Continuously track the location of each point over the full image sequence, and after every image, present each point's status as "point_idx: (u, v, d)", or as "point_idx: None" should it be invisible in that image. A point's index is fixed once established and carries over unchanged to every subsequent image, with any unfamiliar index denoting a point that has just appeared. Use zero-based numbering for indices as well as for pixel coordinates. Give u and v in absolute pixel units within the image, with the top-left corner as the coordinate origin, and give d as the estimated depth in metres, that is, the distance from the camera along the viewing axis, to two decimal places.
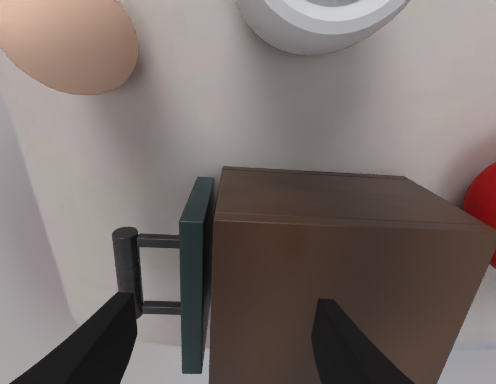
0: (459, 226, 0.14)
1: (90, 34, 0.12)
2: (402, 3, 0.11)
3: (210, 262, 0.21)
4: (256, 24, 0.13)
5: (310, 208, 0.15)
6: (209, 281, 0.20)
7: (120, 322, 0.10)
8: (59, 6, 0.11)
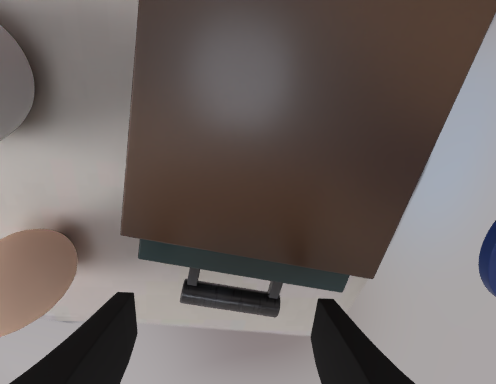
0: None
1: None
2: None
3: None
4: None
5: None
6: None
7: (120, 322, 0.10)
8: None
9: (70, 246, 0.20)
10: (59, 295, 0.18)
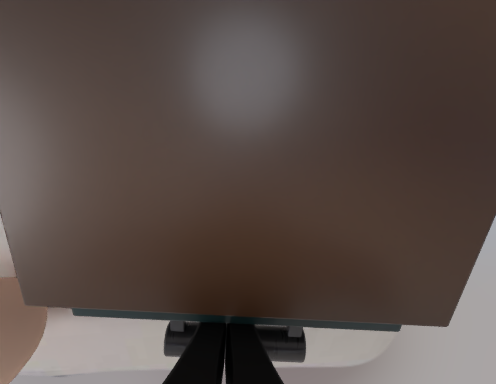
0: None
1: None
2: None
3: None
4: None
5: None
6: None
7: (225, 325, 0.10)
8: None
9: None
10: (17, 364, 0.14)
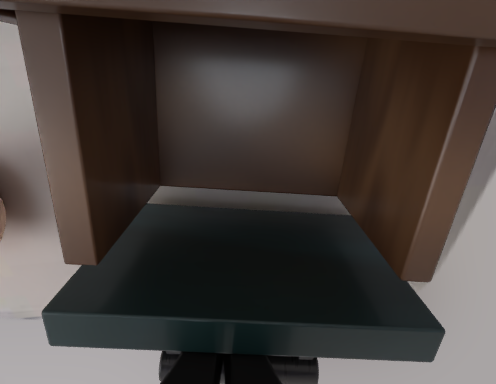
0: None
1: None
2: None
3: (261, 228, 0.12)
4: None
5: None
6: (292, 236, 0.12)
7: None
8: None
9: None
10: None
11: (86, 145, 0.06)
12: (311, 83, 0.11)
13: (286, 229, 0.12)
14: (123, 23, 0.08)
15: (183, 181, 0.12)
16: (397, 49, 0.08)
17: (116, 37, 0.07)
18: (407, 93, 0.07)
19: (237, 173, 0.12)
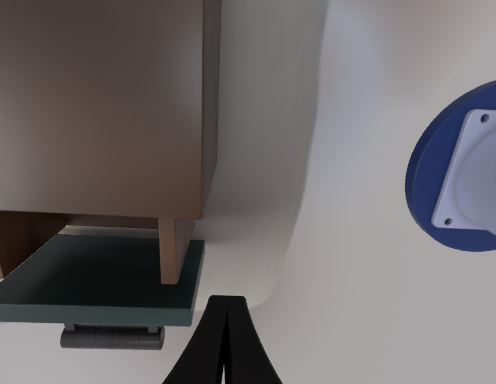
0: None
1: None
2: None
3: (131, 251, 0.19)
4: None
5: None
6: (147, 256, 0.19)
7: (225, 325, 0.10)
8: None
9: None
10: None
11: None
12: None
13: (147, 251, 0.19)
14: None
15: (81, 222, 0.19)
16: None
17: None
18: None
19: (115, 217, 0.19)
